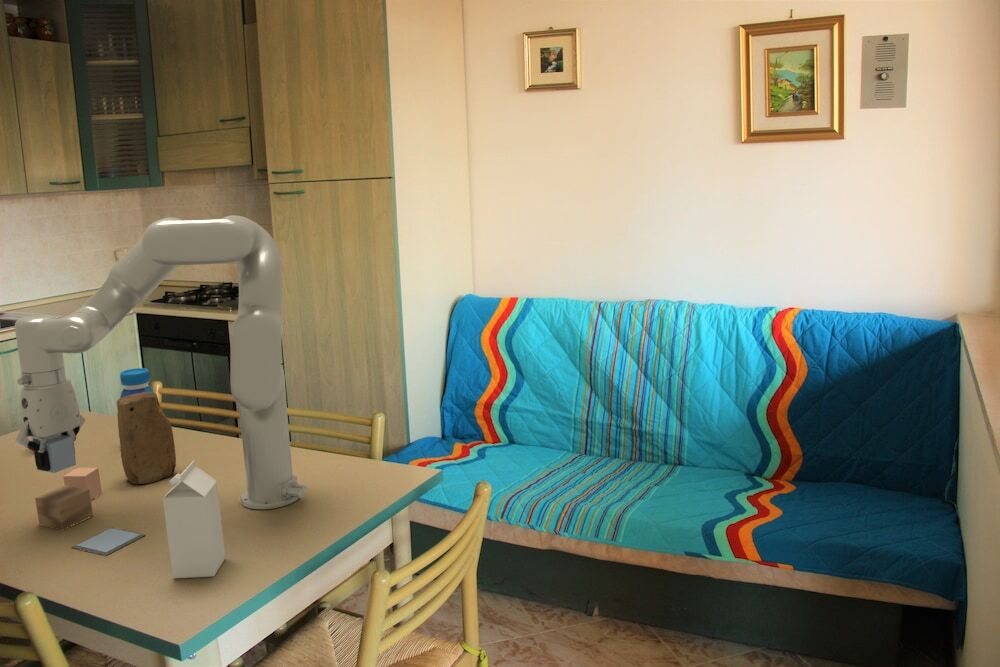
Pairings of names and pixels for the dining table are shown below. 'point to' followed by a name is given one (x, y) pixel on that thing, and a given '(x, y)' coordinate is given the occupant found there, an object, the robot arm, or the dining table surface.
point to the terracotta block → (84, 480)
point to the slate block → (60, 452)
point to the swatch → (108, 541)
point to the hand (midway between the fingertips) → (56, 464)
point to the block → (145, 438)
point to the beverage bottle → (135, 381)
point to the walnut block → (64, 507)
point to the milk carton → (194, 524)
